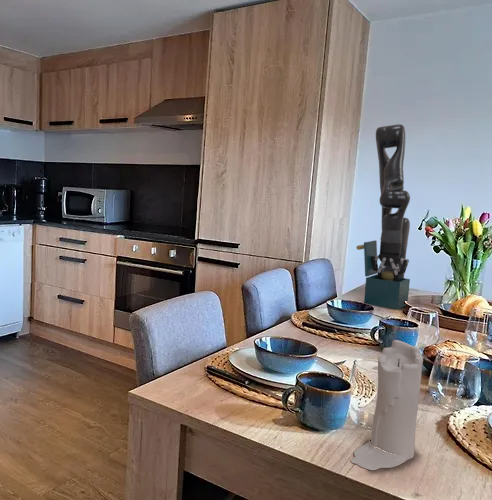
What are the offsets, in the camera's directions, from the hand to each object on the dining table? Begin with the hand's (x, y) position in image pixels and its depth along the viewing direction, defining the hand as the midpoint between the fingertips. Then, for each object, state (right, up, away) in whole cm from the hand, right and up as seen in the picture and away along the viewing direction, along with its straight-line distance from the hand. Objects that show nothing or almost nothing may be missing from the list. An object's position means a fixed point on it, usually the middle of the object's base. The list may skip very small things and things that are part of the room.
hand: (387, 282), depth 202 cm
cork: (0, -7, +1) cm, 7 cm away
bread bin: (0, -9, +1) cm, 9 cm away
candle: (-55, -24, -111) cm, 127 cm away
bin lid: (-5, +10, +3) cm, 11 cm away
